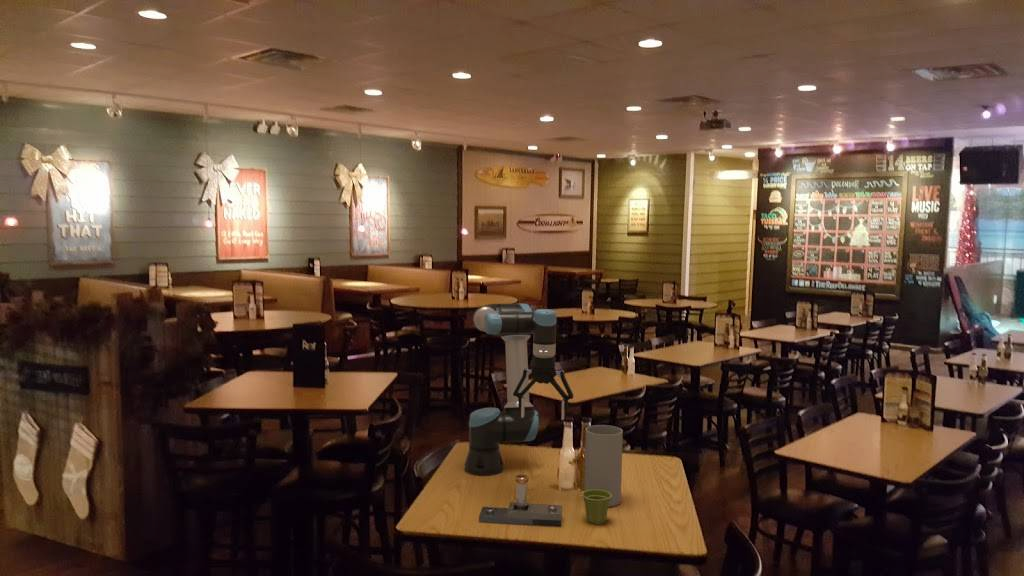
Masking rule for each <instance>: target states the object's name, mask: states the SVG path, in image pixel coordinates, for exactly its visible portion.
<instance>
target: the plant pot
mask: <svg viewBox="0 0 1024 576" xmlns="http://www.w3.org/2000/svg"><path fill="white" fill-rule="evenodd" d="M611 496H612V495H611V494H610V493H609V492H607V491H604V490H587V491H583V492H581V497H582V499H583V502H584V508H585V515H586V516H585V517H586V521H587V522H588V523H589V522H590V523H589V524H592V523H593V524H594V525H602V524H604V523H605V522H606V521H607V516H608V511H609V510H608V508H609V507H608V504H609V501H610V498H611Z"/></svg>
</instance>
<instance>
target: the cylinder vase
mask: <svg viewBox="0 0 1024 576" xmlns="http://www.w3.org/2000/svg"><path fill="white" fill-rule="evenodd" d="M623 431H624V430H623V429H622V428H621V427H617V426H615V425H607V424H598V425H597V424H596V425H590V426H588V427H586V428H585V441H584V443H585V445H584V447H585V449H584V450H585V451H584V485H583V486H584V487H583V489H584V491H587V490H604V491H607V492H609V493H610V494H611V495H612V496H611V498H610V501H609V504H608V508H610V507H612V508H613V507H616V506H618V505H620V503H621V500H622V474H623V472H622V471H623V470H622V469H623V468H622V467H623V463H622V462H623V437H624V436H623V434H624V433H623ZM584 491H583V492H584Z"/></svg>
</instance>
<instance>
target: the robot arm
mask: <svg viewBox="0 0 1024 576" xmlns="http://www.w3.org/2000/svg"><path fill="white" fill-rule="evenodd" d="M557 321H558V319H557V312H556V311H555V310H554V309H550V308H548V309H547V308H540V309H539V308H538V309H536V310H535V309H534V310H532V308H531V306H530V305H529V304H527V303H519V302H518V303H517V302H516V303H514V302H513V303H512V302H511V303H510V302H509V303H488V304H485V305H482V306H480V307H478V308H476V309H475V312H473V314H472V323H473V325H474V327H475V328H476V329H477V330H479V331H480V332H485V333H486V334H487V335H500V338H501V339H502V340H503V341H504V344H505V366H506V367H505V368H506V372H505V373H506V374H505V375H506V396H507V403H505V405H504V406H503V411H501V410H500V409H499V408H497V407H483V408H480V409H479V408H478V409H476V410H474V411H472V412H471V413H470V415H469V422H468V426H469V427H468V428H469V436H468V438H469V439H468V441H469V443H468V444H469V445H468V447H469V448H468V452H467V455H466V458H465V462H464V471H465V472H466V473H468V474H470V475H474V476H493V475H498V474H500V473H503V471H504V468H505V467H504V461H503V458H502V455H501V451H500V443H516V442H517V443H520V442H521V443H525V442H531V441H533V440H535V439H536V436H537V434H538V431H539V422H540V421H539V420H540V419H539V412H538V411H537V410H535V409H534V405H533V404H532V403H531V402H530V389H531V388H532V387H533V385H535V384H536V383H538V384H545V385H548V384H551V385H552V387H553V388H554V389H555V390H556V391H557V393H558V394H559V395H560V397H562V400H561V417H560V418H561V420H562V421H564V420H565V410H568V408H569V400H573V399H574V393H573V390H572V389H571V386H570V385H569V382H568V380H567V378H566V374H565V370H564V369H562V370H556V357H555V355H556V347H557V346H556V345H557V343H556V341H557V339H556V338H557ZM531 334H532V335H533V336H532V337H533V339H532V340H533V342H532V343H533V344H532V355H533V356H532V369H529V362H528V361H529V360H528V341H529V339H530V338H531ZM530 375H532V377H533V378H532V379H531V381H530V382H529V376H530ZM556 376H558V378H560V380H561V382H562V384H563V387H564V389H565V391H566V392H565V391H564V389H563V388H562V387H561V386H560V385H559V383H558V382H557V380H556V379H555V377H556Z"/></svg>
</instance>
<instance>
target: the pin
mask: <svg viewBox="0 0 1024 576" xmlns="http://www.w3.org/2000/svg"><path fill="white" fill-rule="evenodd" d="M514 477H515V480H514V481H515V483H516V499H515V500H516V501H515V503H516V510H526V503H527V496H528V495H527V490H528V487H527V486H528V482H529V476H528V475H526V474H518V475H516V476H514Z"/></svg>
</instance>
